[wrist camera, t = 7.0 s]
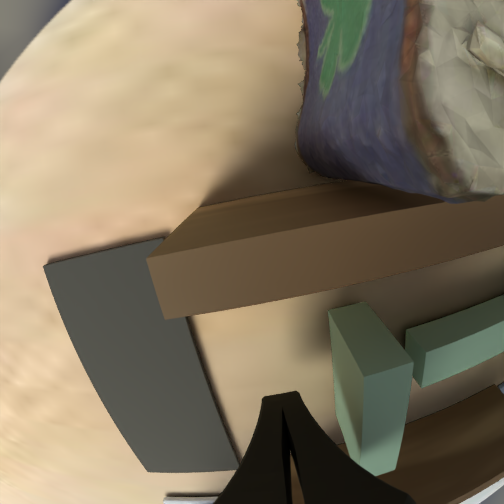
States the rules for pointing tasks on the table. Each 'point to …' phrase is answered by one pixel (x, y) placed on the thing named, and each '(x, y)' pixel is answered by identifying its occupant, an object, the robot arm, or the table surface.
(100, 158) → the table surface
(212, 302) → the tunnel
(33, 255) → the table surface
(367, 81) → the flask
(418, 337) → the teal block
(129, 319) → the mat
